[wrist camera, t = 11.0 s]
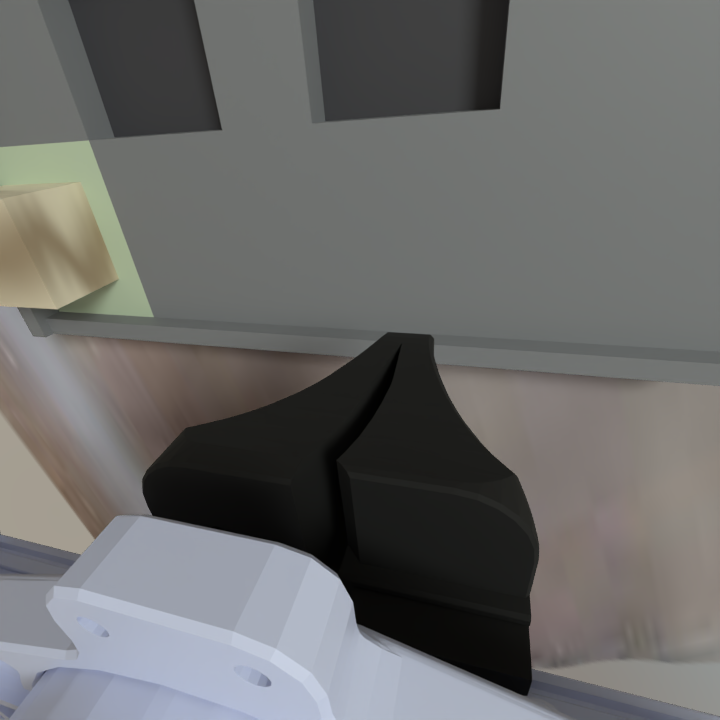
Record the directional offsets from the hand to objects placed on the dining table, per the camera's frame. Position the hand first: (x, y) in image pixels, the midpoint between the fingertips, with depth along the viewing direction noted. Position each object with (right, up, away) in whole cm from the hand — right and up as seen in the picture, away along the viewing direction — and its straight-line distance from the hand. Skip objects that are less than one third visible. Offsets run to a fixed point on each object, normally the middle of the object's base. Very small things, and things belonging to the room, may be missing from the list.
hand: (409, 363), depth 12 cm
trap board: (-4, +10, +7) cm, 12 cm away
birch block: (-17, +7, +10) cm, 21 cm away
